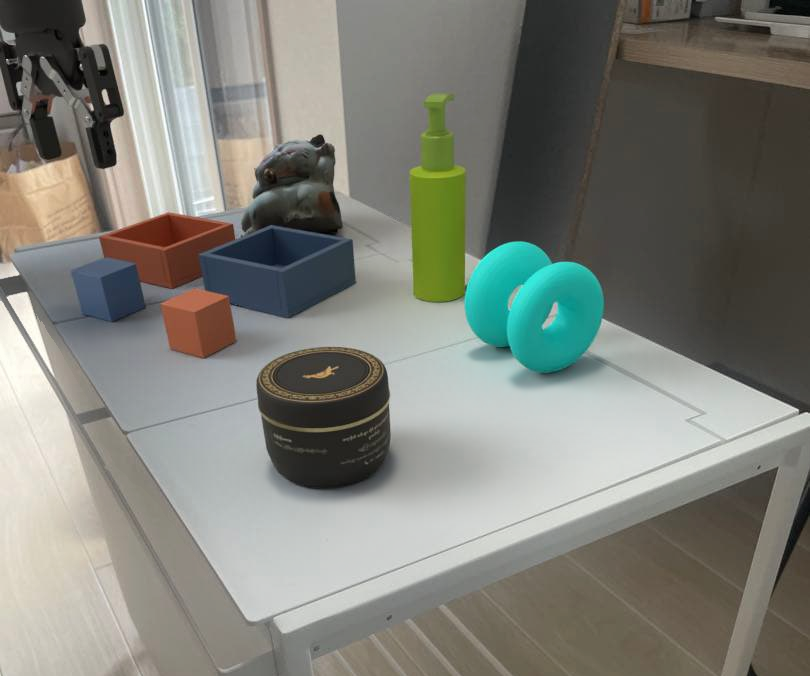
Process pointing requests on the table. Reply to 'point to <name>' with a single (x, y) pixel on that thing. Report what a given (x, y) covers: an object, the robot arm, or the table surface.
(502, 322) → the donuts
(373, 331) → the table surface
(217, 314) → the terracotta block
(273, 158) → the lucky cat figurine
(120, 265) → the blue block
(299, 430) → the jar
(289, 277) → the blue bin
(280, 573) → the table surface
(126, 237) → the terracotta bin
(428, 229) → the soap dispenser
